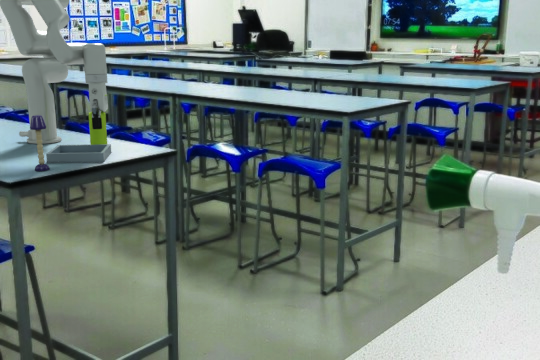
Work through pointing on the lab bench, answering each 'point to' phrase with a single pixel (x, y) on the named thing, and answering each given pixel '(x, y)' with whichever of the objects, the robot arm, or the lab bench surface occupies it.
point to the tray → (79, 153)
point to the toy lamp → (39, 140)
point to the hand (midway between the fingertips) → (99, 127)
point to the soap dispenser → (98, 130)
